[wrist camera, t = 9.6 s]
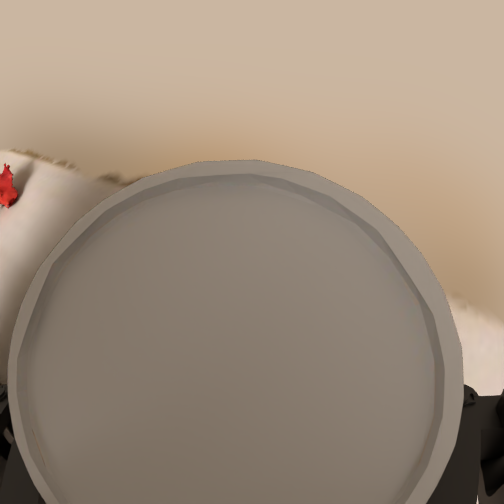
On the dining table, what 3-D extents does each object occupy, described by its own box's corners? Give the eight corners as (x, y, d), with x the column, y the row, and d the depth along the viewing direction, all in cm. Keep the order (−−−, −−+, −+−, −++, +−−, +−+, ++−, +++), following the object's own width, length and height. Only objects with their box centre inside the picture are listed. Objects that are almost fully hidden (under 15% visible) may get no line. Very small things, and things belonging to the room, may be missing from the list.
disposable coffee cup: (263, 278, 18) (213, 99, 7) (389, 385, 14) (552, 329, 3) (148, 389, 15) (-34, 337, 5) (264, 508, 11) (197, 654, 1)
